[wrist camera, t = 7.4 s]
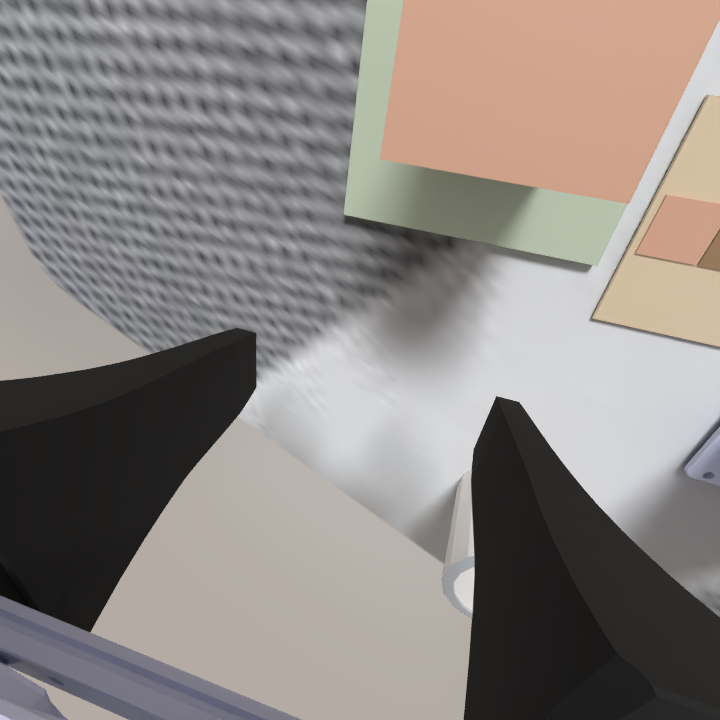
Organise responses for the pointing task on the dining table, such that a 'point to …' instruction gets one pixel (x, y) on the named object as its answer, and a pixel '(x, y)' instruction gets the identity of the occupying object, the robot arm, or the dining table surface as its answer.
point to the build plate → (457, 178)
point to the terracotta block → (542, 88)
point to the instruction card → (676, 246)
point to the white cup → (460, 551)
